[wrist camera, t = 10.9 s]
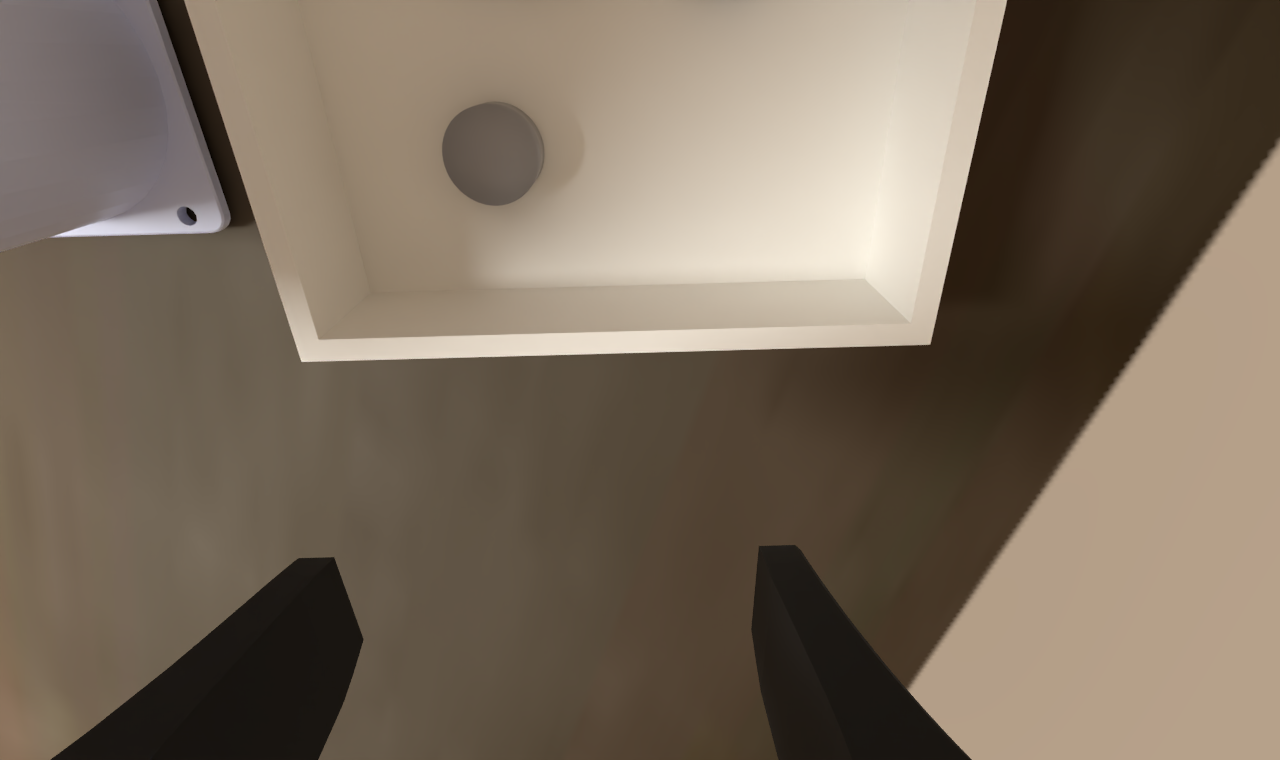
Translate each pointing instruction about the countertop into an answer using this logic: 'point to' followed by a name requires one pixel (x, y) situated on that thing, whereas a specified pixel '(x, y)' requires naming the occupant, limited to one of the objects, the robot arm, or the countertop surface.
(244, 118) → the tub
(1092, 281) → the countertop surface
